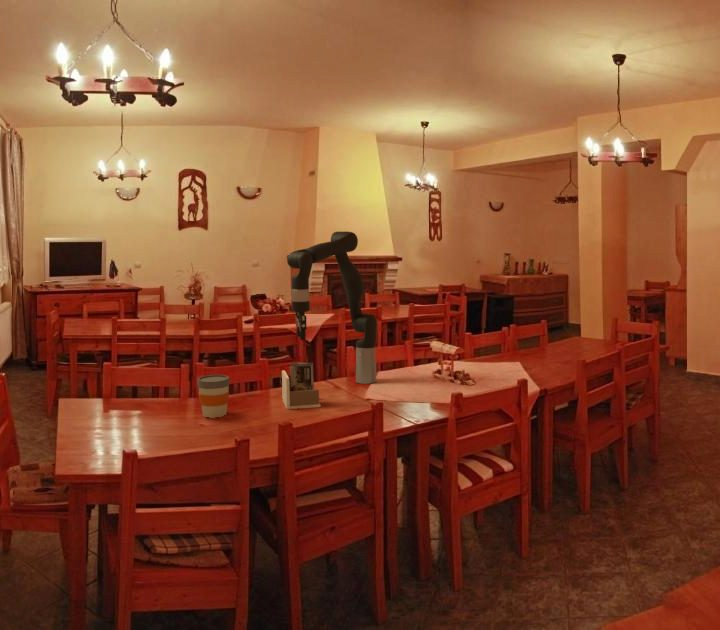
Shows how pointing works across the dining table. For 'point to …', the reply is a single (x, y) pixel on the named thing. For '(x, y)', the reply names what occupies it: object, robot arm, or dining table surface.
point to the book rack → (298, 396)
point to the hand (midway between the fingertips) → (301, 338)
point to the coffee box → (301, 376)
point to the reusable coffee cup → (213, 395)
